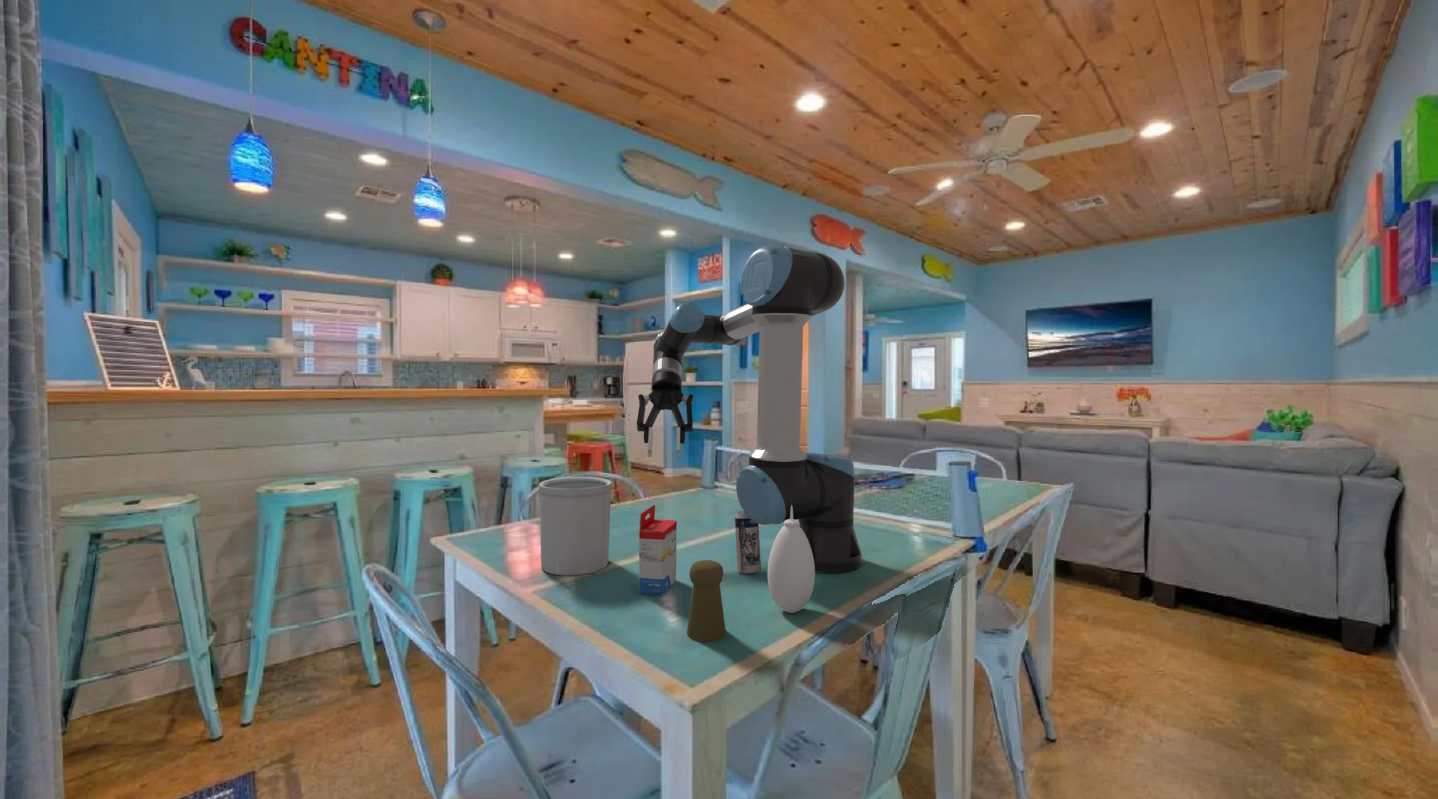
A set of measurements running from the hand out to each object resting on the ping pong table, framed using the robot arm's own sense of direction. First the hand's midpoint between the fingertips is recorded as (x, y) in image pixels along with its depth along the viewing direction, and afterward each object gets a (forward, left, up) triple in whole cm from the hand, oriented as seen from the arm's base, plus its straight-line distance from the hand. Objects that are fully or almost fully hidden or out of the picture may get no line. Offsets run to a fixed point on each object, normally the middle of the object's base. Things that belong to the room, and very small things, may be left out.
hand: (663, 452), depth 125 cm
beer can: (-18, +14, -23) cm, 32 cm away
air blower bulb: (-23, +33, -23) cm, 46 cm away
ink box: (0, +21, -23) cm, 31 cm away
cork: (-8, +41, -23) cm, 47 cm away
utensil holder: (+18, +8, -23) cm, 30 cm away
